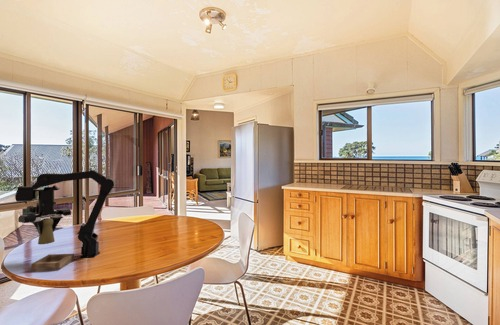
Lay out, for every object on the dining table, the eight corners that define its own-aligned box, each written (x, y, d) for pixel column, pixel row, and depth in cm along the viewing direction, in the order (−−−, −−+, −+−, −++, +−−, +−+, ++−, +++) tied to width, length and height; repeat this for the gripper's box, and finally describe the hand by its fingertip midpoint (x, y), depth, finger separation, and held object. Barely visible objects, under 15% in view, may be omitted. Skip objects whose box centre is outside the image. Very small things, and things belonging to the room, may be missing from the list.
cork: (53, 239, 119) (53, 216, 119) (56, 242, 115) (56, 218, 115) (36, 242, 114) (36, 218, 114) (39, 245, 110) (39, 220, 110)
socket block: (74, 259, 116) (74, 253, 116) (59, 269, 105) (59, 262, 105) (48, 260, 115) (48, 254, 115) (31, 271, 104) (31, 264, 104)
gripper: (58, 196, 126) (58, 227, 126) (11, 202, 109) (11, 237, 109) (71, 198, 122) (71, 229, 122) (25, 203, 105) (25, 240, 105)
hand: (46, 233), depth 115 cm, fingers closed on cork, 4 cm apart
